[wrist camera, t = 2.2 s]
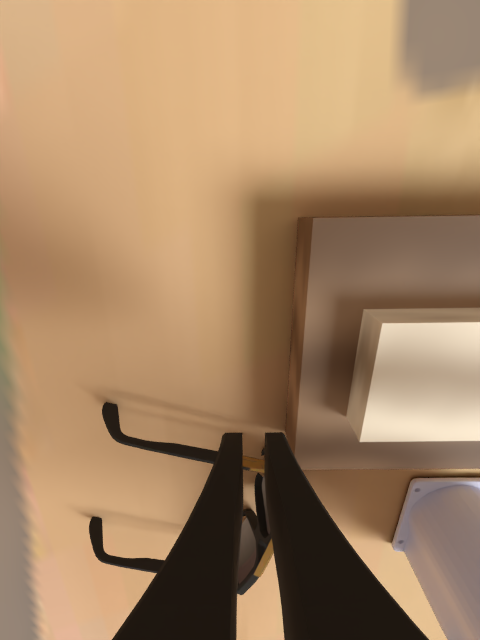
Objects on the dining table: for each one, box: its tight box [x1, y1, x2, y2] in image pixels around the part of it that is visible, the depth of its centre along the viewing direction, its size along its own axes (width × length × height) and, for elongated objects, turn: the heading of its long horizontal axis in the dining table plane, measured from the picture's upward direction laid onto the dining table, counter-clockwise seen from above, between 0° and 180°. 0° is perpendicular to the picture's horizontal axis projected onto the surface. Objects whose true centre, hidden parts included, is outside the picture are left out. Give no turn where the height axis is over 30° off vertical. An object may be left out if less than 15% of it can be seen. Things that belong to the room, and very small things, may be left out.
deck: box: [285, 215, 480, 470], centre depth 17 cm, size 16×18×4 cm
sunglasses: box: [89, 402, 274, 595], centre depth 22 cm, size 14×15×5 cm
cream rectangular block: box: [346, 308, 480, 442], centre depth 14 cm, size 7×10×2 cm
